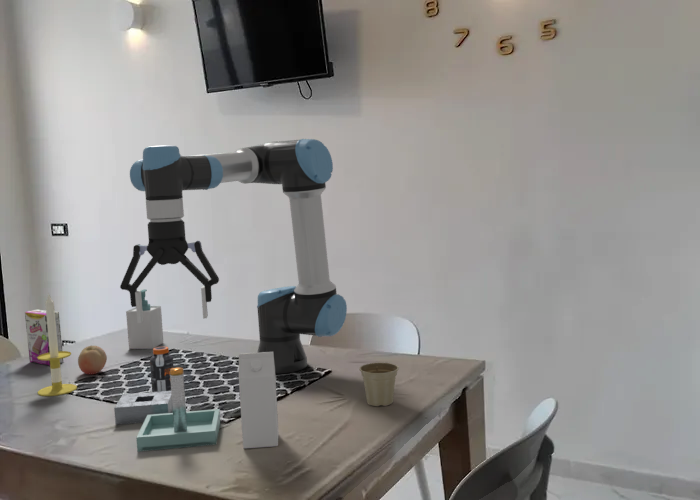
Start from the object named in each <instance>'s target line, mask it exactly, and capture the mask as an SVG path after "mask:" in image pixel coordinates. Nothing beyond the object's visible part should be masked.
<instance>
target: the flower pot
mask: <svg viewBox="0 0 700 500" xmlns="http://www.w3.org/2000/svg"><path fill="white" fill-rule="evenodd" d="M399 368H400V367H399V365H397V364H395V363H390V362H371V363H365V364H363V365H361V366H360V367H358V369H359V371H360V372H361V376H362V379H363V384H364V385H363V386H364V391H365V397H366V402H367V405H370V406H374V407H379V406H383V407H385V406H389V405H392V404H393V402H394V395H395V394H394V393H395V385H396V376H397V374H398V371H399V370H400V369H399Z"/></svg>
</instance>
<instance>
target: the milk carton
mask: <svg viewBox="0 0 700 500" xmlns="http://www.w3.org/2000/svg"><path fill="white" fill-rule="evenodd" d="M276 383H277V381H276V374H275V364H274V354H273V352H261V353H257V352H248V353H239V354H238V384H239V385H238V387H239V388H238V389H239V402H240V417H241V420H240V422H241V433H242V435H241V437H242V447H243V449H254V448H255V449H256V448H267V447H268V448H270V447H278V446H279V433H280V432H279V417H278V415H279V413H278V402H277V401H278V398H277V397H278V396H277V384H276Z"/></svg>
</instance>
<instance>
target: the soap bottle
mask: <svg viewBox="0 0 700 500" xmlns="http://www.w3.org/2000/svg"><path fill="white" fill-rule="evenodd" d="M146 292H147V289H141V298H142V310H143V321H142V322H141V323H137V311H136V307H132V308H131V309H128V310H126V311H125V313H126V315H125V317H126V327H127V329H126V330H127V336H128V337H127V340H128V349H129V350H153V349H154V348H156V347H160V345H162V344H164V333H163V332H164V331H163V330H164V329H163V319H162V306H160V305H153V306H151V304H150V303H149V302H148V300H147V299H145V298H146Z"/></svg>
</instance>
